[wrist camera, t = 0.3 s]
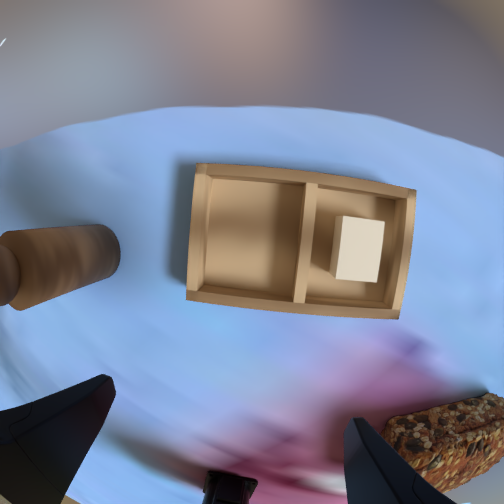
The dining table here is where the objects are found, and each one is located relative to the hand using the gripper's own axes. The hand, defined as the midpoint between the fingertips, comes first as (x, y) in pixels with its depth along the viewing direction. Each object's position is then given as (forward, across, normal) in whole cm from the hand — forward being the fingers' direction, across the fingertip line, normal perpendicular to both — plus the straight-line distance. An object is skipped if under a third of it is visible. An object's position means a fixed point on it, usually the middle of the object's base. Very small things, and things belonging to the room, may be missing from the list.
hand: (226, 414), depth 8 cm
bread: (+12, -25, +18) cm, 33 cm away
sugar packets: (+14, -7, -4) cm, 16 cm away
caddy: (+15, -3, -4) cm, 15 cm away
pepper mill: (+14, +15, 0) cm, 21 cm away
